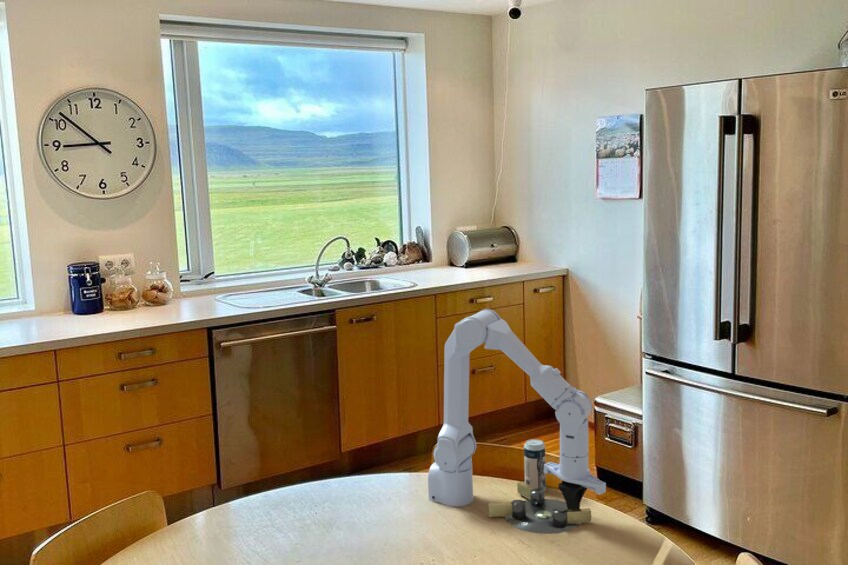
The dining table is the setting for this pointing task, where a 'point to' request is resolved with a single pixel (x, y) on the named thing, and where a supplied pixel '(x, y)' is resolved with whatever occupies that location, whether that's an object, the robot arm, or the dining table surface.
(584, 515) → the outer lever
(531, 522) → the base plate
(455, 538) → the dining table surface
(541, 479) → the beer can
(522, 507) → the inner lever
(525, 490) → the rear lever
